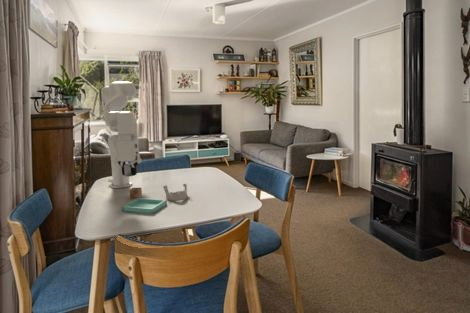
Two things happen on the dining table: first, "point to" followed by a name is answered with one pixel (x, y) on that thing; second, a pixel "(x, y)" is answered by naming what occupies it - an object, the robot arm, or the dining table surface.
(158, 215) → the dining table surface
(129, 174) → the grey metal cylinder
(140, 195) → the walnut block
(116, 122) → the robot arm
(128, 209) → the tray
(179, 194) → the anatomical model
